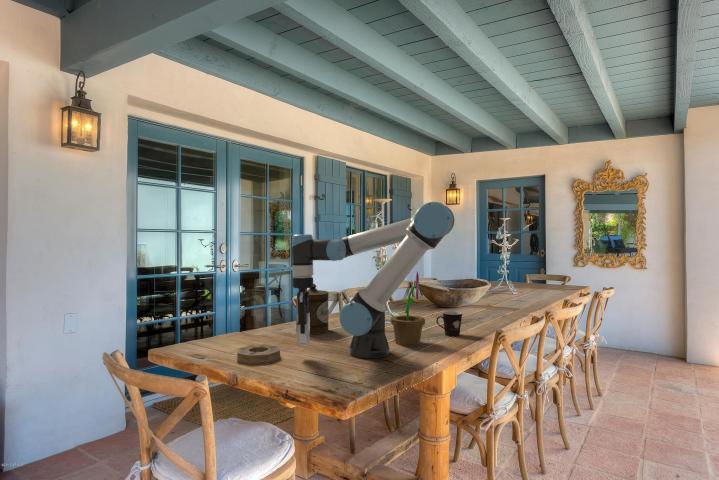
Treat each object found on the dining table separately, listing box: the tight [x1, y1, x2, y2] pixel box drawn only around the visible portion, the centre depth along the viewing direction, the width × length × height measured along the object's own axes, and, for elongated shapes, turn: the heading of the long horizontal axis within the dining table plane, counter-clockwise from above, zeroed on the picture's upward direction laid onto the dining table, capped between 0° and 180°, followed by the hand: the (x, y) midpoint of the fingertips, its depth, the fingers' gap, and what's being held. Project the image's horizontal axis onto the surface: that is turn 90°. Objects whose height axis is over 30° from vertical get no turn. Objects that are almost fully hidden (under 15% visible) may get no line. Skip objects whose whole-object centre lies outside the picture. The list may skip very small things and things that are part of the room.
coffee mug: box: [436, 310, 463, 338], centre depth 203 cm, size 12×9×10 cm
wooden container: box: [295, 283, 329, 336], centre depth 210 cm, size 15×15×22 cm
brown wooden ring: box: [236, 343, 281, 365], centre depth 165 cm, size 15×15×3 cm
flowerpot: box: [390, 271, 426, 347], centre depth 188 cm, size 14×14×30 cm
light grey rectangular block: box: [297, 313, 311, 346], centre depth 165 cm, size 4×4×11 cm
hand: (303, 340), depth 165 cm, fingers closed on light grey rectangular block, 4 cm apart
